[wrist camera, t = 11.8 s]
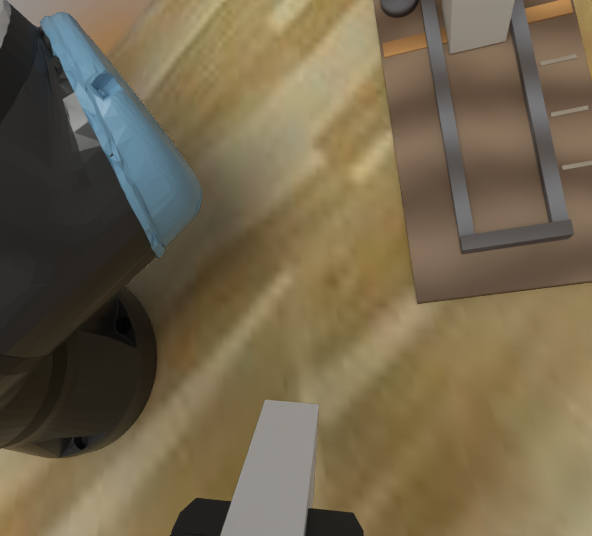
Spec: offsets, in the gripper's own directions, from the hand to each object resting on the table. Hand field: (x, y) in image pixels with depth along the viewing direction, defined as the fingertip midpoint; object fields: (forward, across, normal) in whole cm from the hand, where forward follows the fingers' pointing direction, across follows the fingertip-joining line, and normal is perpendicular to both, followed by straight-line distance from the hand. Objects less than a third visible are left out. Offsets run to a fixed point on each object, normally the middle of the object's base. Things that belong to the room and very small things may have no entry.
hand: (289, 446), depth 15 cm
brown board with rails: (+29, +11, +11) cm, 33 cm away
